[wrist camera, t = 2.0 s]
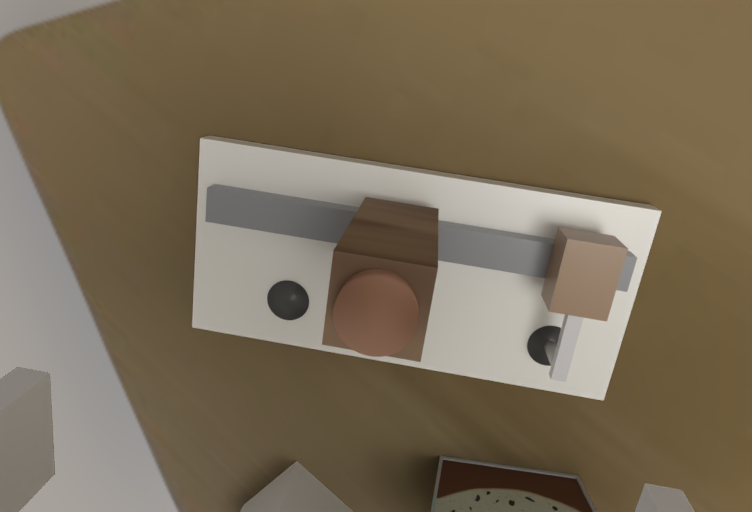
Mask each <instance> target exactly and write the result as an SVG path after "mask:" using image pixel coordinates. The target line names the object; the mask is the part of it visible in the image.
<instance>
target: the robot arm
mask: <svg viewBox="0 0 752 512" xmlns="http://www.w3.org/2000/svg"><path fill="white" fill-rule="evenodd" d="M54 474H55V464H54V444H53V425H52V405H51V384H50V373H48V372H42V371H37V370H31V369H26V368H21V367H16V368H15V369H14V370H12V371H11V372H10V373H8V374H7V375H5V376H4V377H3V378H1V379H0V512H19V511H20V510H21V509H22V508H23V507H24V506H25V505H26V504H27V503H28V501H29V500H30V499H31V498H32V497H33V496H34V495H35V494H36V493H37V492H38V491H39V490H40V489H41V488H42V487H43V486H44V485H45V484H46V483H47V482H48V481H49V479H50V478H51V477H52V476H53V475H54ZM635 512H695V511H694V510H693V508H692V506H691V505H690V503H689V501H688V499H687V498H686V496H685V494H684V492H683V491H682V490H679V489H674V488H669V487H663V486H658V485H652V484H647V483H645V485H644V488H643V491H642V493H641V496H640V499H639V502H638V505H637V507H636V510H635Z"/></svg>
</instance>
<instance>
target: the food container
mask: <svg viewBox="0 0 752 512" xmlns="http://www.w3.org/2000/svg"><path fill="white" fill-rule="evenodd" d="M431 512H597V511H596V509H595V507H594V505H593V503H592V501H591V499H590V497H589V495H588V493H587V491H586V489H585V487H584V485H583V483H582V481H581V479H580V477H579V475H573V474H566V473H559V472H552V471H545V470H538V469H531V468H524V467H517V466H510V465H503V464H496V463H489V462H482V461H476V460H469V459H462V458H455V457H448V456H441V455H440V459H439V465H438V471H437V476H436V482H435V488H434V494H433V500H432V506H431Z"/></svg>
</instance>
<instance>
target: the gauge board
mask: <svg viewBox="0 0 752 512" xmlns="http://www.w3.org/2000/svg"><path fill="white" fill-rule="evenodd" d="M365 197H370V198H376V199H382V200H389V201H395V202H401V203H407V204H413V205H420V206H426V207H432V208H438V209H439V215H438V271H437V276H436V281H435V287H434V292H433V298H432V303H431V308H430V314H429V319H428V324H427V330H426V335H425V341H424V346H423V351H422V357H421V362H417V361H412V360H406V359H400V358H395V357H389V356H382V357H373V356H367V355H363V354H360V353H358V352H356V351H354V350H350V349H344V348H338V347H333V346H327V345H322V339H323V331H324V323H325V314H326V306H327V298H328V290H329V282H330V274H331V265H332V257H333V250H334V249H335V247H336V245H337V244H338V242H339V240H340V239H341V237H342V235H343V234H344V232H345V230H346V229H347V227H348V225H349V224H350V222H351V220H352V219H353V217H354V215H355V214H356V212H357V210H358V209H359V207H360V205H361V204H362V202H363V201H364V199H365ZM661 212H662V211H661V210H659V209H657V208H656V207H654V206H653V205H648V204H642V203H635V202H629V201H623V200H616V199H610V198H604V197H597V196H591V195H585V194H578V193H572V192H566V191H559V190H553V189H547V188H540V187H534V186H527V185H521V184H515V183H508V182H502V181H496V180H489V179H483V178H477V177H470V176H464V175H458V174H451V173H445V172H439V171H432V170H426V169H420V168H413V167H407V166H401V165H394V164H388V163H382V162H375V161H369V160H363V159H356V158H350V157H344V156H337V155H331V154H325V153H318V152H312V151H306V150H299V149H293V148H287V147H280V146H274V145H268V144H261V143H255V142H249V141H242V140H236V139H230V138H223V137H217V136H211V135H210V136H206V137H202V138H200V153H199V176H198V200H197V223H196V247H195V271H194V294H193V318H192V327H193V328H199V329H204V330H210V331H216V332H221V333H227V334H232V335H238V336H244V337H249V338H255V339H260V340H266V341H272V342H277V343H283V344H289V345H294V346H300V347H305V348H311V349H317V350H322V351H328V352H333V353H339V354H345V355H350V356H356V357H362V358H367V359H373V360H378V361H384V362H390V363H395V364H401V365H406V366H412V367H418V368H423V369H429V370H435V371H440V372H446V373H451V374H457V375H463V376H468V377H474V378H480V379H485V380H491V381H496V382H502V383H508V384H513V385H519V386H524V387H530V388H536V389H541V390H547V391H553V392H558V393H564V394H569V395H575V396H581V397H586V398H592V399H597V400H603V401H604V398H605V394H606V391H607V388H608V385H609V381H610V378H611V375H612V372H613V368H614V365H615V362H616V359H617V355H618V352H619V349H620V346H621V342H622V339H623V336H624V332H625V329H626V326H627V323H628V319H629V316H630V313H631V310H632V306H633V303H634V300H635V297H636V293H637V290H638V287H639V284H640V280H641V277H642V274H643V271H644V267H645V264H646V261H647V257H648V254H649V251H650V248H651V244H652V241H653V238H654V235H655V231H656V228H657V225H658V222H659V218H660V215H661Z"/></svg>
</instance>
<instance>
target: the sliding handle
mask: <svg viewBox="0 0 752 512" xmlns="http://www.w3.org/2000/svg"><path fill="white" fill-rule="evenodd" d="M438 215H439V209H438V208H432V207H426V206H420V205H413V204H407V203H401V202H395V201H389V200H382V199H376V198H370V197H365V199H364V201H363V202H362V204H361V205H360V207H359V209H358V210H357V212H356V214H355V215H354V217H353V219H352V220H351V222H350V224H349V225H348V227H347V229H346V230H345V232H344V234H343V235H342V237H341V239H340V240H339V242H338V244H337V245H336V247H335V249H334V250H333V257H332V265H331V274H330V282H329V290H328V298H327V306H326V314H325V323H324V331H323V339H322V345H327V346H333V347H338V348H344V349H350V350H354V351H356V352H358V353H360V354H363V355H367V356H373V357H382V356H389V357H395V358H400V359H406V360H412V361H417V362H421V357H422V351H423V346H424V341H425V335H426V330H427V324H428V319H429V314H430V308H431V303H432V298H433V292H434V287H435V281H436V276H437V271H438Z"/></svg>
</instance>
